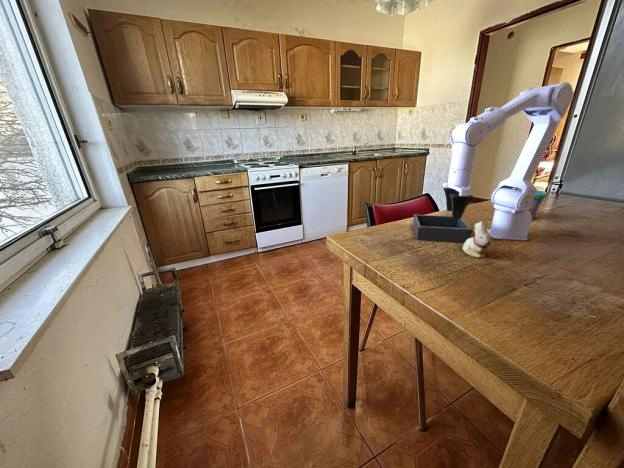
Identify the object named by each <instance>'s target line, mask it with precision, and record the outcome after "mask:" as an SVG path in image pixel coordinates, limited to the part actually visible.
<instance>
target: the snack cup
mask: <svg viewBox="0 0 624 468" xmlns="http://www.w3.org/2000/svg"><path fill="white" fill-rule="evenodd" d="M515 189H516V190H521V191H522V189H518V188H515ZM546 197H547V192H545V191H542V190H537V191H536V193H535V197H534V203H533V205H532V206H531V207H530V208H529V209H528V210H527V211H530V213H531V215H532V219H534V218H535V217H536V215H537V213H538V211H539V209H540V207H541V205H542V203H543V201H544V199H545V198H546Z"/></svg>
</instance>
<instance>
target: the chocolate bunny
mask: <svg viewBox="0 0 624 468" xmlns="http://www.w3.org/2000/svg"><path fill="white" fill-rule="evenodd" d="M487 229H488V227H487V223H486V222H485V221H484V220H481V221H479V222H476V223H475V224H474V228H473V231H474V236H473V237H471V238H469V239H467V240H466V241H465V243H463V245H462V251H463V252H464V253H465V254H467V255H469V256H472V257H475V258H477V259H478V258H479V259H484V258H485V257H486V253H487V252H488V249H489V246H490V245H491V242H492V236H491V235H490V234H489V232H488V230H487Z"/></svg>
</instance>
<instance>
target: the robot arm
mask: <svg viewBox="0 0 624 468" xmlns="http://www.w3.org/2000/svg"><path fill="white" fill-rule="evenodd" d="M574 97H575V95H574V91H573V86H572V84H571V83H570V82H567V81H565V82H560V83H556V84H551V85H545V86H538V87H530V88H527V89H526V90H524V91H521V92H520V94H519V95H518V96H516V97H514V98H513V99H511V100H510V101H509V102H507V103H505V104H504V105H503V106H501V107H497V106H495V107H493V106H491V107H487V108H486V109H484V112H482V113H481V114H479V115H477V116H472V117H470V118H469V121H468V122H462V123H459V124H457V125H456V126H455V127H454V128H453V130H452V131H451V133H450V134H449V141H450V143H451V151H452V153H451V160H450V166H449V173H448V180H447V182H445V183H443V184H442V186H443V192H444V195H445V206H446V211H447V212H451V216H452V218H455V219H461V217H462V218H463V215H464V213H465V210H466V209H467V207H468V205H469V204H470V202H471V201H472V200H473V199H474V195H471V194H470V191H471V190H470V189H471V188H472V187H471V186H472V184H471V183H472V177H473V171H474V167H475V161H476V157H477V152H478V151H477V150H478V145H480V144H482V142H484V140H485V137H487V136H488V135H489V134H492V133H494V132H495V131H497V130H499V129H500V128H502V127H503V126H504V125H505V123H506V121H507V119H510V118H511V117H512V118H513V116H515V115H517V114H519V113H523V114H524V115H525V116H526V118H527V119H528V120H529V121H530V122H532V123H533V127H532V129H531V131H530V133H529V135H528V138H527V140H526V142H525V145H524V146H523V148H522V151H521V153H520V155H519V157H518V160H517V162H516V164H515V166H514V168H513V169H512V172H511V173H510V174H511V175H510V176H509V177H508V178H506V179H504V180H502V181H500V182H499V184H498V186H497V188H495V190H494V191H493V192H492V194H491V199H490V200H491V204H492V205H493V208H495V209H494V213H493V218H492V221H491V225H490V228H487V230H488V232H489V234H490V235H491V238H492V239H494V240H495V239H496V240H510V241H511V240H513V241H528V240H529V239H528V235H529V233H530V232H529V231H530V228H531V224H532V220H533V218H532V215H531V213H530V211H527V210H528V209H529V208H530V207H531V206H532V205H533V203H534V197H535V193H536V191H538V189H537V188H536V186H535V185H534V184H533V182H532V180H533V178H534V176H535V174H536V172H537V170H538V167H539V166H540V163H541V161H542V159H543V158H544V156H545V153H546V151H547V150H548V148H549V145H550V143H551V141H552V139H553V138H554V135H555V133H556V131H557V130H558V127H559V125H560V123H561V120H562V119H564V117H565V115H566V114H567V111H568V109H569V107H570V106H571V103H572V101H573V99H574ZM516 189H522V191H521V190H516Z"/></svg>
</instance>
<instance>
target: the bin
mask: <svg viewBox="0 0 624 468" xmlns="http://www.w3.org/2000/svg"><path fill="white" fill-rule="evenodd" d="M412 220H413V221H412V228H413V231H414V235H415V238H416V240H417V241H426V242H427V241H428V242H430V241H431V242H447V243H459V244H464V243H465V241H466V240H467V239H469V238H472V233H473V229H472V228H471V226H470V225H469V224H468V222H466V220H465V219H463V216H462V217H461V219H455V218H452V215H436V214H435V215H434V214H433V215H432V214H413V219H412Z"/></svg>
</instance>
